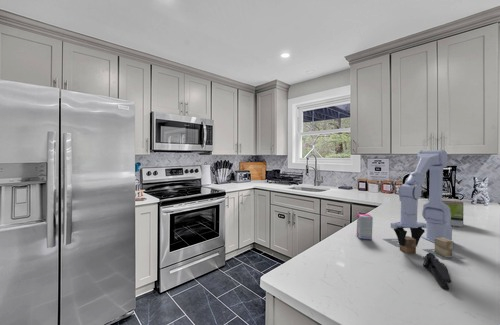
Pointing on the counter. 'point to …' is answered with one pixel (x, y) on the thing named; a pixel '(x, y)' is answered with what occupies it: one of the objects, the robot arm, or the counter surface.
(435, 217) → the robot arm
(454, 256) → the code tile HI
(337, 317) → the counter surface
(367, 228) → the supplement box
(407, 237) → the walnut block
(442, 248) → the oak block
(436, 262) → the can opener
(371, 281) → the counter surface
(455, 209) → the tea box
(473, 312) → the counter surface
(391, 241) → the tile
